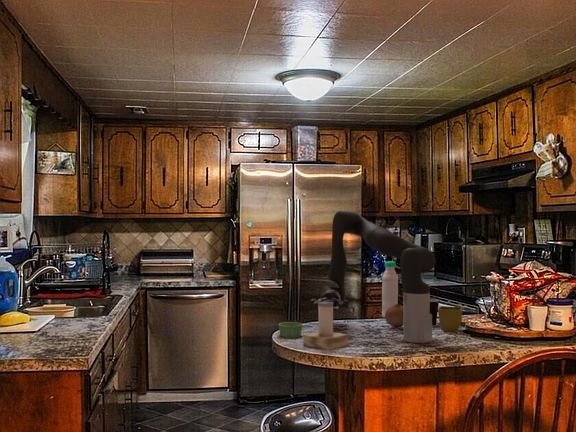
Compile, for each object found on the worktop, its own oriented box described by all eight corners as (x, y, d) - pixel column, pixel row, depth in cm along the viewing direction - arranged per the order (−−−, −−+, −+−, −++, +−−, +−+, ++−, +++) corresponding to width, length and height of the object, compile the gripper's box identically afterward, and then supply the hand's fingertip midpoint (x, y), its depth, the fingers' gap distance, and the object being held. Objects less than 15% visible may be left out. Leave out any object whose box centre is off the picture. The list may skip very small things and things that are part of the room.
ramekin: (274, 337, 204) (274, 325, 204) (284, 332, 212) (284, 321, 212) (296, 339, 200) (296, 327, 200) (306, 334, 208) (306, 323, 208)
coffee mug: (439, 326, 226) (439, 302, 226) (418, 325, 228) (418, 301, 228) (437, 321, 237) (437, 298, 237) (417, 320, 239) (417, 297, 239)
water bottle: (399, 316, 249) (399, 261, 250) (395, 319, 243) (395, 262, 243) (384, 315, 252) (384, 260, 253) (380, 318, 246) (380, 261, 246)
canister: (336, 334, 191) (336, 302, 191) (326, 336, 187) (326, 303, 187) (324, 332, 194) (324, 301, 195) (315, 334, 190) (315, 302, 191)
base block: (348, 344, 191) (348, 334, 191) (328, 350, 183) (328, 339, 183) (323, 340, 198) (323, 330, 198) (303, 344, 190) (303, 334, 190)
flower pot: (437, 331, 215) (437, 308, 215) (440, 328, 223) (440, 305, 223) (461, 333, 211) (461, 310, 211) (462, 329, 219) (462, 306, 220)
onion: (411, 330, 217) (411, 305, 217) (387, 330, 217) (387, 304, 217) (406, 326, 227) (406, 301, 227) (383, 325, 227) (383, 301, 227)
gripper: (312, 290, 219) (308, 295, 203) (348, 291, 217) (347, 296, 201) (312, 309, 219) (308, 316, 202) (348, 310, 217) (347, 317, 201)
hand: (328, 306), depth 202 cm, fingers open, 8 cm apart
